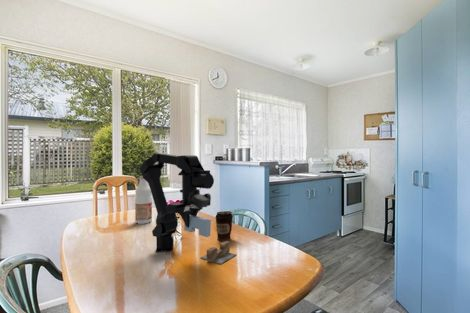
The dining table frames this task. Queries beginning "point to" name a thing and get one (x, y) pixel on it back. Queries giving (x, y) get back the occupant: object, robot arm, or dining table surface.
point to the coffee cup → (224, 225)
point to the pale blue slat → (199, 225)
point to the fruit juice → (143, 202)
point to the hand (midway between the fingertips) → (189, 226)
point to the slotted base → (219, 254)
